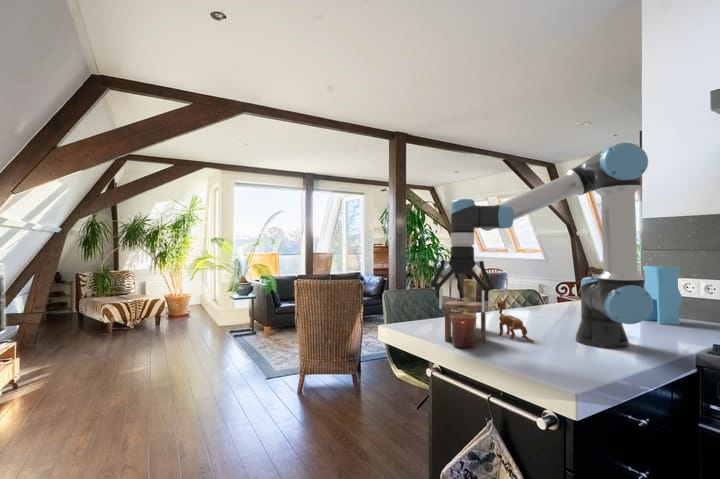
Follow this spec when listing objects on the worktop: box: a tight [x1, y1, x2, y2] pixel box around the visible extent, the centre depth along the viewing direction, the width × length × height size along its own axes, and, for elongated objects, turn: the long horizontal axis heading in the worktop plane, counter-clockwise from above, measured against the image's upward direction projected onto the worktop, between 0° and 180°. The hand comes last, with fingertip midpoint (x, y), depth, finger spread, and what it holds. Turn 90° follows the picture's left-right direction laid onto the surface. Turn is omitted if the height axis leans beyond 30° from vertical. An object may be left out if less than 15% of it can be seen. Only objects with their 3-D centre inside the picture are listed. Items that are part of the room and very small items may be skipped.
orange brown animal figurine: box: [496, 297, 535, 343], centre depth 133 cm, size 18×7×14 cm, turn 19°
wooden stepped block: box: [462, 278, 477, 332], centre depth 140 cm, size 4×25×20 cm, turn 158°
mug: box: [450, 313, 478, 350], centre depth 121 cm, size 12×9×10 cm
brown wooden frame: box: [444, 300, 487, 346], centre depth 130 cm, size 13×8×13 cm, turn 69°
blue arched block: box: [642, 265, 683, 325], centre depth 158 cm, size 10×10×25 cm
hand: (461, 309), depth 121 cm, fingers open, 13 cm apart
